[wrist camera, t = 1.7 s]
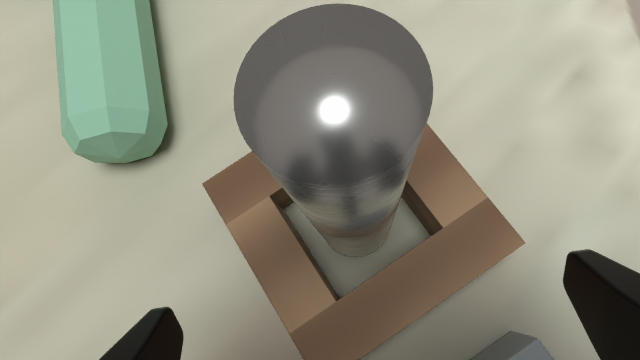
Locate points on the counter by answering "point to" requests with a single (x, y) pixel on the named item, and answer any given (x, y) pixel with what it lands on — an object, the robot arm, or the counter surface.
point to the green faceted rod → (109, 79)
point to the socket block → (515, 349)
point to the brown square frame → (387, 285)
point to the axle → (337, 116)
